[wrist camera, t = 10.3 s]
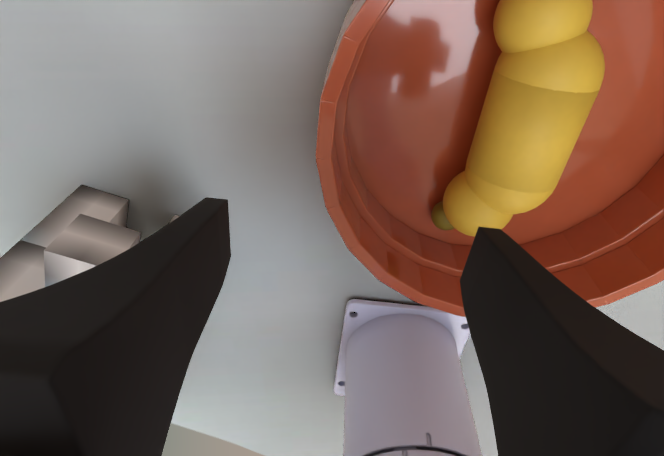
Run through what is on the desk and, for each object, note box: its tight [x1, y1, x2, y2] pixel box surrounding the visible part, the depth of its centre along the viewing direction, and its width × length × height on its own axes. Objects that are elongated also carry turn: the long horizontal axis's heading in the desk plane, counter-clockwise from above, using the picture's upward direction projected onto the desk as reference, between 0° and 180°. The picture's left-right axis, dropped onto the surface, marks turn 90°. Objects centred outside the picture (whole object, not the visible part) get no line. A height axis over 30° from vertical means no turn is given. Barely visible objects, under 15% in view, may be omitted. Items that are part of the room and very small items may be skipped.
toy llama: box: [0, 185, 179, 302], centre depth 19 cm, size 8×18×20 cm, turn 160°
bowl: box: [316, 0, 664, 317], centre depth 17 cm, size 17×17×5 cm
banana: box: [431, 0, 605, 237], centre depth 17 cm, size 12×4×4 cm, turn 175°
